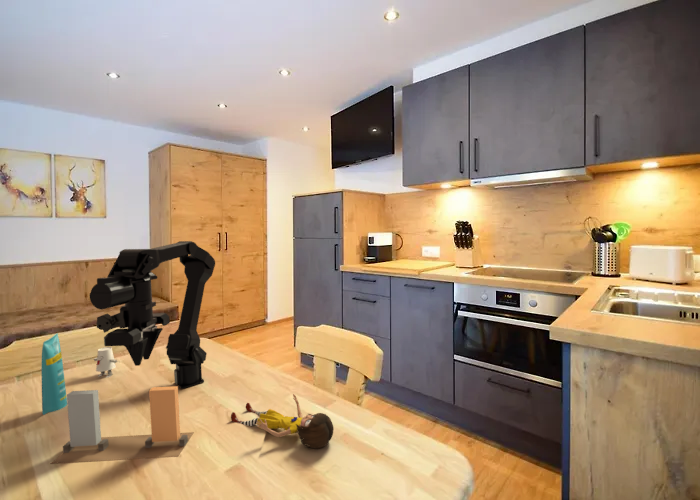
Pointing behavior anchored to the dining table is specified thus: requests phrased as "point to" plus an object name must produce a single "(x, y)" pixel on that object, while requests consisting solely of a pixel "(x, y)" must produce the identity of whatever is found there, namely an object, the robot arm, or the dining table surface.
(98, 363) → the toy figure
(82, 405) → the grey tall block
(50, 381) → the tube
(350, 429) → the dining table surface
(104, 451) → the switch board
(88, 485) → the dining table surface
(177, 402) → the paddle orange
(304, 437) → the figurine
